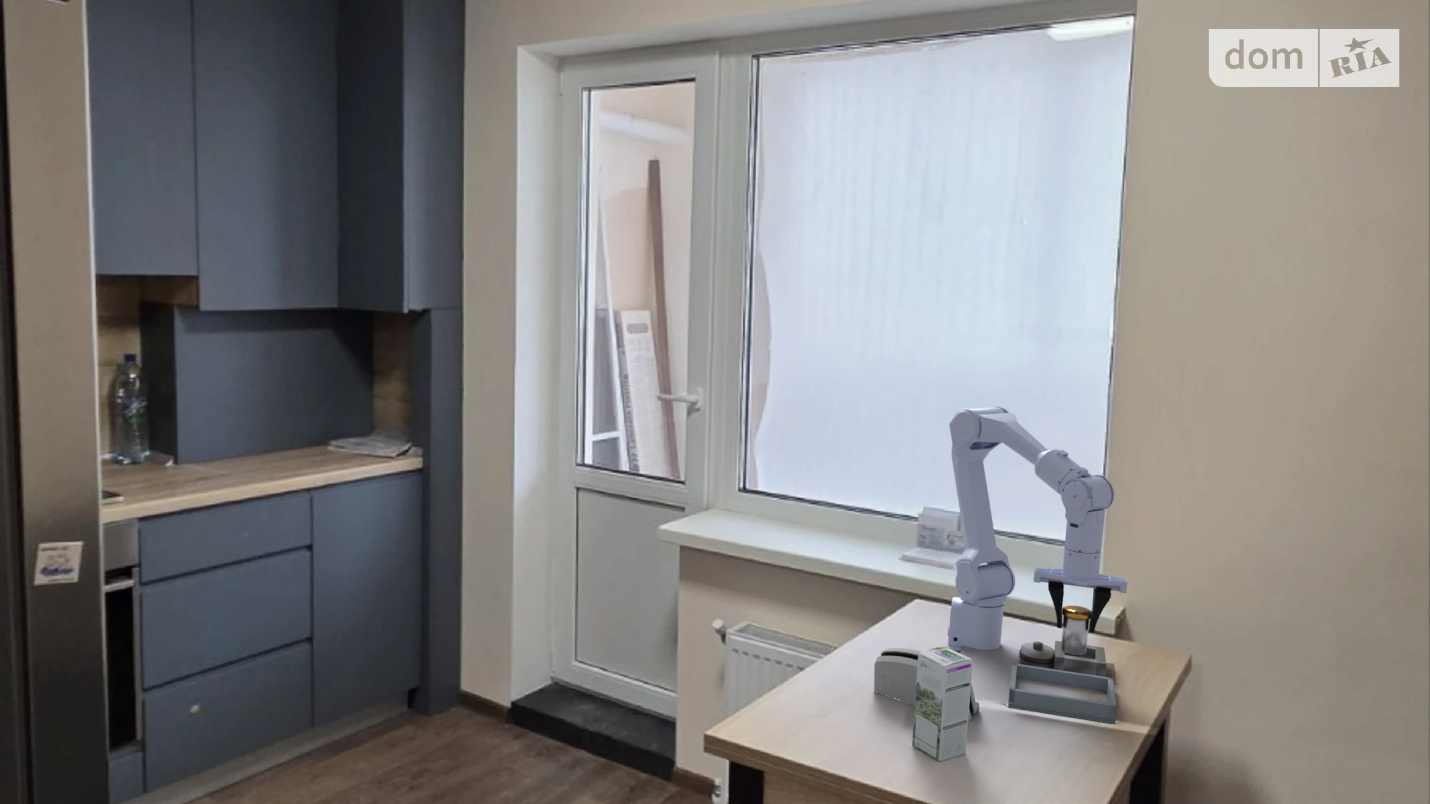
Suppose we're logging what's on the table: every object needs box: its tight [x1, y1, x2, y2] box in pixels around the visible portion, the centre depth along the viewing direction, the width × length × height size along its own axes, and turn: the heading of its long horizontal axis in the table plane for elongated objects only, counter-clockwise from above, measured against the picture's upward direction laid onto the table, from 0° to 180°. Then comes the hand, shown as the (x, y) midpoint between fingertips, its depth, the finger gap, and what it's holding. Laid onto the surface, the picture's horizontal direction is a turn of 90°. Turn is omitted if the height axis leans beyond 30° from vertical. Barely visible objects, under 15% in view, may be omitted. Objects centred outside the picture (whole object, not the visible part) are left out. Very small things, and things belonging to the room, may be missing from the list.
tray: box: [1007, 662, 1118, 725], centre depth 175 cm, size 16×12×3 cm
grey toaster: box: [873, 647, 980, 722], centre depth 171 cm, size 17×5×10 cm, turn 53°
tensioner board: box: [1017, 640, 1118, 686], centre depth 188 cm, size 16×10×4 cm, turn 73°
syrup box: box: [911, 646, 974, 762], centre depth 155 cm, size 6×6×14 cm
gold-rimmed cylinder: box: [1061, 605, 1092, 655], centre depth 180 cm, size 5×5×7 cm
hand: (1075, 628), depth 180 cm, fingers closed on gold-rimmed cylinder, 4 cm apart
